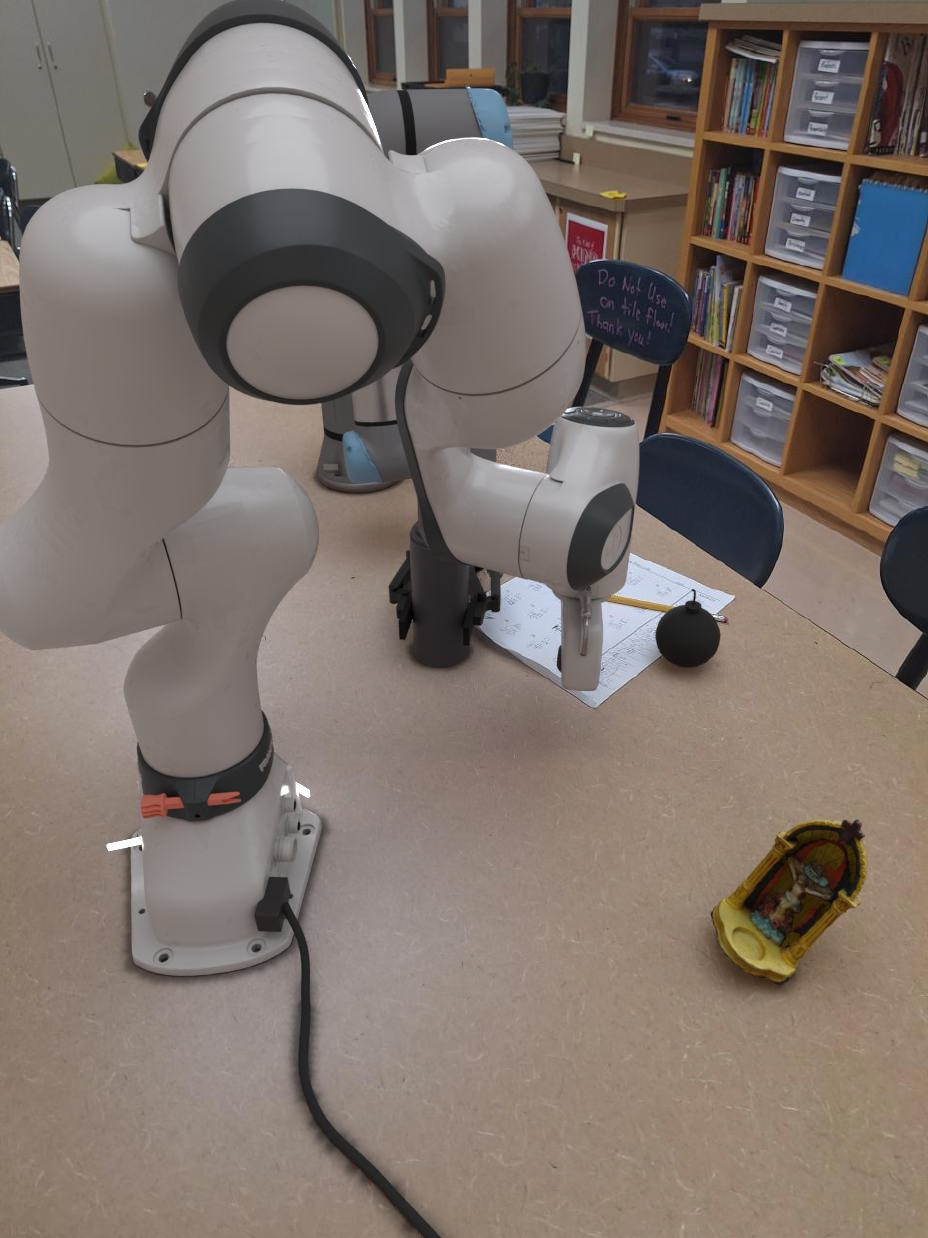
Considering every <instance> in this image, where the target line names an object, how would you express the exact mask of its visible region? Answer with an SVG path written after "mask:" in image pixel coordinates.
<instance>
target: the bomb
mask: <svg viewBox="0 0 928 1238" xmlns="http://www.w3.org/2000/svg"><path fill="white" fill-rule="evenodd" d="M691 592H693V597H692V600H687V601H685V603H684V604H681V605H677V606H675V607H672V608H670V609H669V610H668V611H666V612H665V613H664V614H663V615H662V616H661V617H660V619H659V620H658V622H657V626H656V629H655V634H654V638H655V643H656V647H657V649H658V652H659V653H660V655H661V656H662V657H663V658H664V659H665V660H666V661H667V662H668V663H670V664H672V665H673V666H676V667H680V668H685V669H689V668H697V667H700V666H702V665H705V664H707V662H708V661H710V660H711V659H712V658H713V657H714V656H715V654H716V653H717V652H718V650H719V646H720V642H721V635H722V634H721V629H720V626H719V624H718V622H717V619H716V618H715V617H714V616H713V614H712V613H710V612H709V611H708V610H707V609H705V608H703V606H702V603H701V602H699V601H697V600H696V599H697V591H696V589H695V588H691Z"/></svg>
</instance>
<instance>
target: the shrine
mask: <svg viewBox="0 0 928 1238" xmlns="http://www.w3.org/2000/svg"><path fill="white" fill-rule="evenodd" d="M862 827H863V823H862V822H861V821H860V820H859V819H857V818H856V819H854V821H853V822H851V821H850V820H848V819H843V820H842V821H841V820H837V819H836V820H835V819H834V820H833V819H827V818H826V819H821V818H820V819H819V818H818V819H810V820H807V821H804V822H801V823H798V824H796V825H795V826H793V827H792V828H790V829H789V830H787V831H783V830H782V831H779V832H778V833H777V834H776V837H775V838H774V842H775V843H774V844H773V845H771V847H772V848H771V849H770V851H769V852H767V853H766V855H765V856H764V858H762V859H761V861H760V862H759V863H758V864H757V866H756V867H755V868H754V869H753V870H752V871H751V872H750V874H749V875H748V876H747V877H746V878H744V879H743V881H742V882H741V884H740V885H739V886H738V887H736V889H735V891H733V892H732V893H730V895H728V896H727V897H725V898H724V899H722V900H721V901H719V903H718V905H716V906H714V908H713V909H712V911H710V918H711V922H712V924H713V927H714V930H715V934H716V935H715V936H716V938H717V941H716V942H717V944H718V946H719V948H720V949H721V951H722V952H723V953H724V955H725V957H727V958H728V959H729V960H730V962H731V963H733V965H735V966H736V967H737V968H738V969H739V970H741V971H744V972H746V973H747V974H749V975H750V976H751V977H754V978H760V979H767V980H770V981H772V983H773V985H775V986H783V985H784V984H785V983H788V982H789V981H790V980H791V976H792V975H794V973H796V972H797V968H798V964H799V962H800V960H801V959H803V958H804V956H805V955H806V953H807V952H809V951H810V950H811V949H812V947H813V945H814V943H816V941H817V940H818V939H819V938H820V937H821V936H822V935H823V934H824V932H825V931H827V929H828V928H830V926H832V925H834V922H836V921H837V919H839V918H840V917H841V916H842V915H844V914H845V913H847V912H848V910H849V909H856V908H857V907H858V906H860V905H861V900H860V898H859V897H858V896H859V894H860V893H861V890H862V889H863V887H864V885H865V882H866V880H867V875H868V855H867V851H866V847H865V843H864V840H863V839H864V838H865V837H866V834H865V833H863V831H862Z"/></svg>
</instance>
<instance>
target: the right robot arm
mask: <svg viewBox="0 0 928 1238" xmlns="http://www.w3.org/2000/svg"><path fill="white" fill-rule="evenodd" d="M367 97H368V103H369V110H370V115H371V117H372V119H373V122H374V124H375V127H376V130H377V133H378V136H379V139H380V142H381V145H382V149H383V152H384V156H385V157H386V158H387V159H388V160H389V156H388V152H389V151H390V150H392V151H395V152H397V153H400V154H403V155H418V154H419V153H421V152H422V151H424V150H426V149H428V148H430V147H432V146H434V145H437V144H439V143H442V142H446V141H450V140H454V139H461V138H482V139H487V140H491V141H494V142H497V143H500V144H503V145H505V146H507V147H509V148H511V149H512V150H514V141H513V131H512V126H511V120H510V115H509V112H508V111H509V110H508V108H507V105H506V103H505V101H504V99H503V97H502V95H501V94H500V93H499V92H498V91H496V90H495V89H492V88H472V87H470V86H468V85H467V86H465V88H430V89H429V88H428V89H426V88H425V89H423V88H422V89H420V88H419V89H395V88H388V89H381V90H377V91H375V92H372V93H370V94H367ZM402 366H403V364H402V365H401V366H399V367H397V368H394V369H392V370H391V371H389V372H388V373H387V374H386V375H384V376H383V377H382V378H380V379H379V380H377V381H375V382H374V383H372V384H370V385H368V386H366V387H364V388H361V389H359V390H357V391H355V392H353V393H350V394H348V395H346V396H343V397H341V398H338V399H335V400H332V401H329V402H325V403H320V405H321V416H322V426H323V439H322V443H321V448H320V451H319V455H318V460H317V466H316V468H317V469H316V470H317V478H318V480H319V482H320V483H321V484H322V485H323V486H325V487H327V488H329V489H331V490H334V491H337V492H342V493H354V494H355V493H357V494H358V493H371V492H375V491H380V490H383V489H386V488H389V487H391V486H393V485H394V484H396V483H398V481H407V480H412V477H411V473H410V470H409V466H408V463H407V459H406V456H405V452H404V449H403V445H402V441H401V437H400V433H399V429H398V424H397V419H396V411H395V390H396V384H397V380H398V376H399V373H400V371H401V368H402ZM497 450H498V449H478V448H470V452H471V453H472V454H474V455H476V456H478V457H481V458H483V459H486V460H489V461H493V462H496V463H497ZM484 570H486V573H487V574H488V577H489V578H490V595H487V590H484V588H483V585H482V583H481V581H480V579H479V577H478V574H479V573H481V572H482V571H484ZM503 576H504V574H503V573H500V572H496V571H492V570H488V569H485V568H481V567H477V566H469V606H468V610H467V614H466V618H465V622H464V626H463V645H466V646H469V647H470V645H471V641H472V636H473V632H474V627H475V626H476V627H482V625H484V621H485V620H484V619H485V616H486V612H488V611H491V612H492V613H493V614H494V613H496V614H497V613H499V612H501V600H502V592H501V590H502V589H501V588H502V587H501V579H502V578H503ZM388 598H389V599H388V601H389V604H391V605H395V614H396V615H395V616H396V619H397V620H398V638H399V640H400V641H406V640H407V636H408V634H409V631H410V627H411V625H412V623H413V619H412V593H411V566H410V549H407V550H406V551H405V559H404V561H403V563H402V564H401V565H400V567H399V569H398V570H397V572H396V573H395V574H394V576H393V578H392V580H391V581H390V583H389V584H388Z"/></svg>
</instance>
